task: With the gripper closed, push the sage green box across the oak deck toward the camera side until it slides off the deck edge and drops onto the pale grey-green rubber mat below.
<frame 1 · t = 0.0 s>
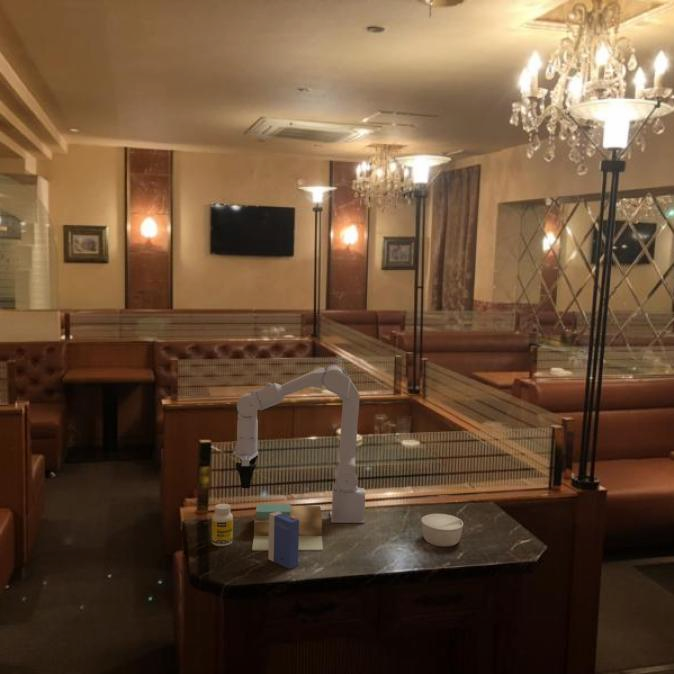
hand: (246, 483, 195), 10 cm above the countertop, tool pointing down, fingers open, 7 cm apart
walkman: (283, 563, 168), on the countertop
ramekin: (441, 540, 184), on the countertop
supplement bottle: (222, 543, 179), on the countertop
sage green box: (273, 514, 188), point 4 cm above the countertop, touching deck
deck: (288, 527, 190), on the countertop
mat: (287, 543, 179), on the countertop
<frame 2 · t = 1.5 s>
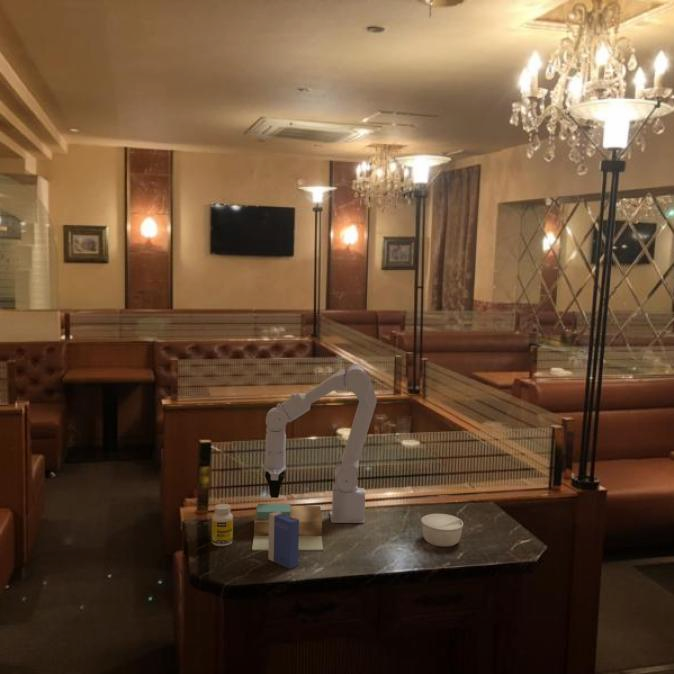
hand: (274, 497, 196), 6 cm above the countertop, tool pointing down, fingers closed
nothing on the countertop moved.
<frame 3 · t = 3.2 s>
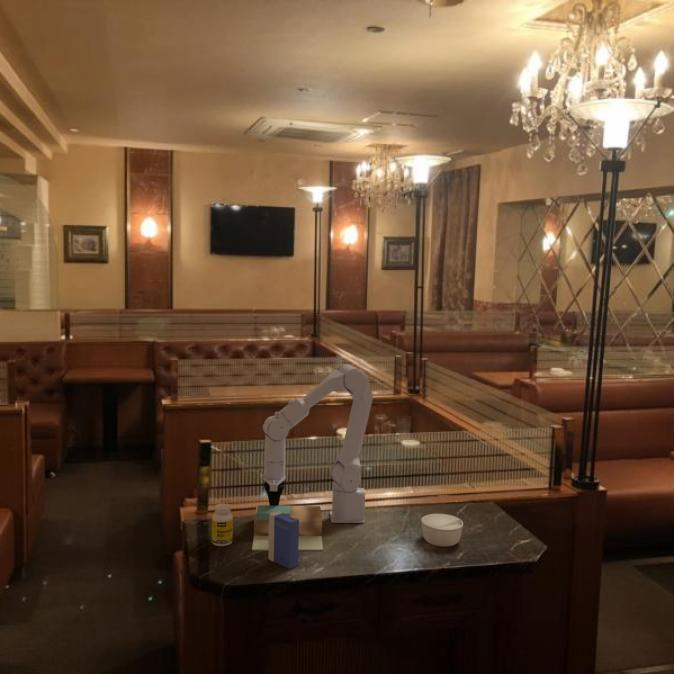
hand: (274, 508, 191), 5 cm above the countertop, tool pointing down, fingers closed
sage green box: (273, 516, 187), point 4 cm above the countertop, touching gripper
everything else where it was.
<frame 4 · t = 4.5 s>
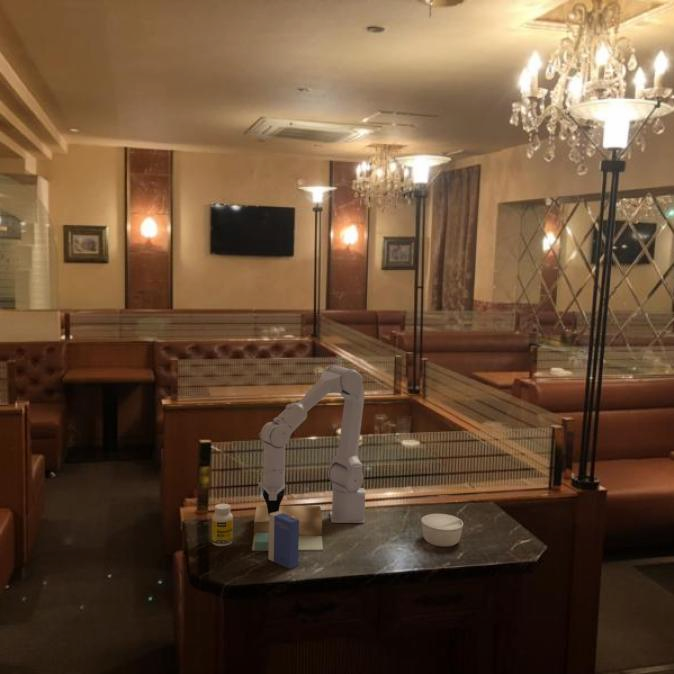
hand: (273, 517, 184), 5 cm above the countertop, tool pointing down, fingers closed
sage green box: (272, 537, 177), point 2 cm above the countertop, tilted 180°, touching mat
everything else where it was.
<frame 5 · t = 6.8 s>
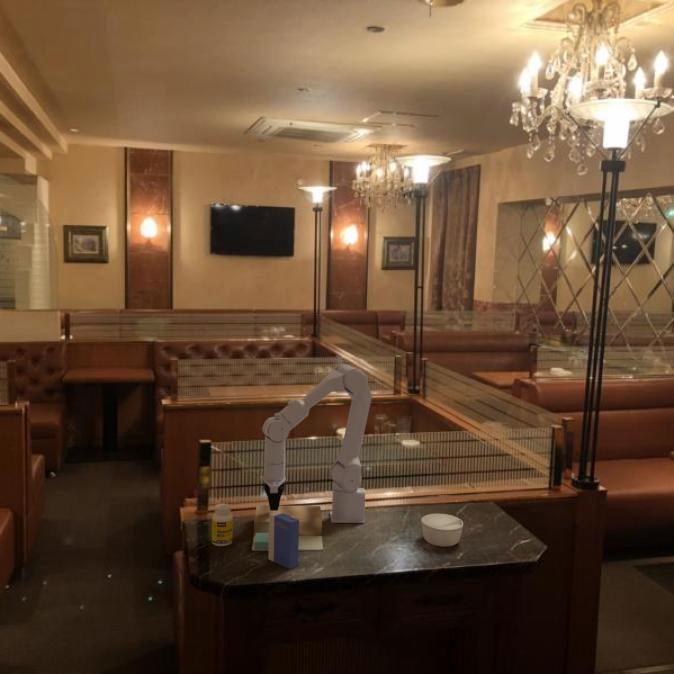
hand: (274, 509, 189), 5 cm above the countertop, tool pointing down, fingers closed
nothing on the countertop moved.
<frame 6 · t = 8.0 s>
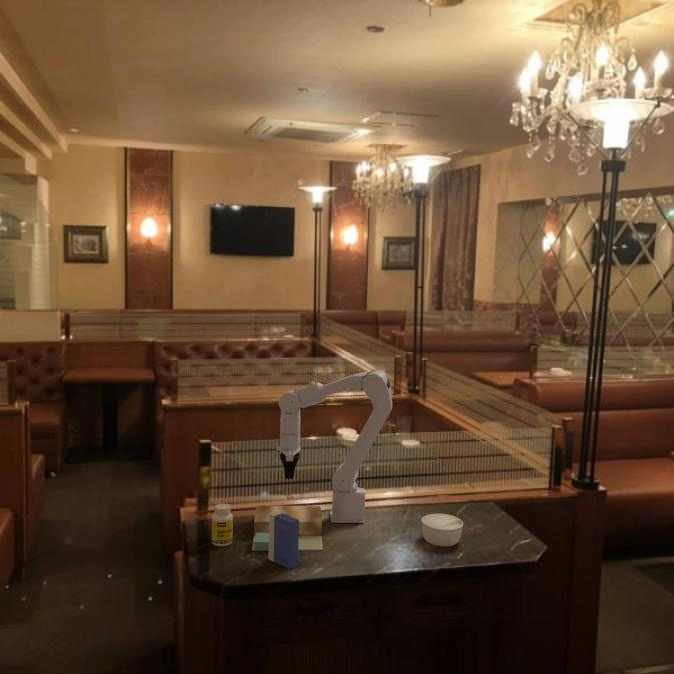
hand: (289, 478, 199), 10 cm above the countertop, tool pointing down, fingers closed
nothing on the countertop moved.
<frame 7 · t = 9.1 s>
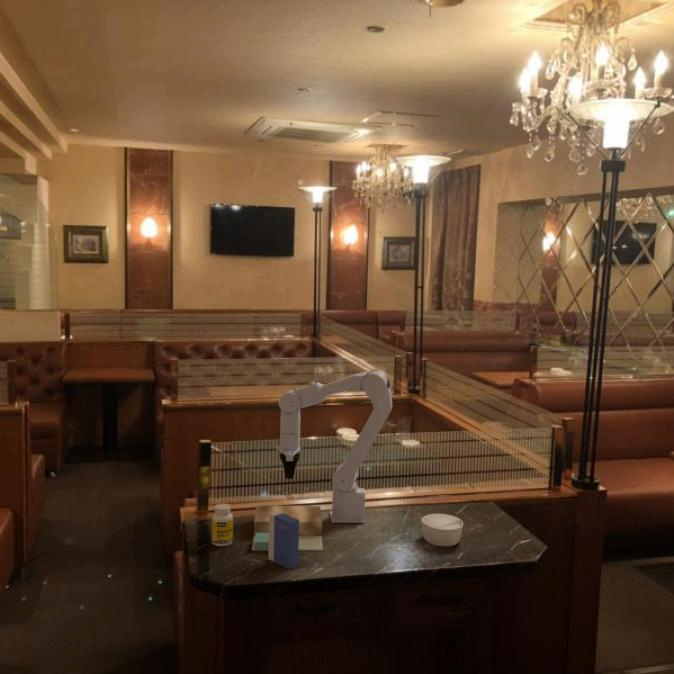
hand: (289, 478, 199), 10 cm above the countertop, tool pointing down, fingers closed
nothing on the countertop moved.
at the end: sage green box point 2.3 cm above the countertop; sage green box inside the target area on the mat (4.0 cm from its centre), point 2.3 cm above the mat's base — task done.
